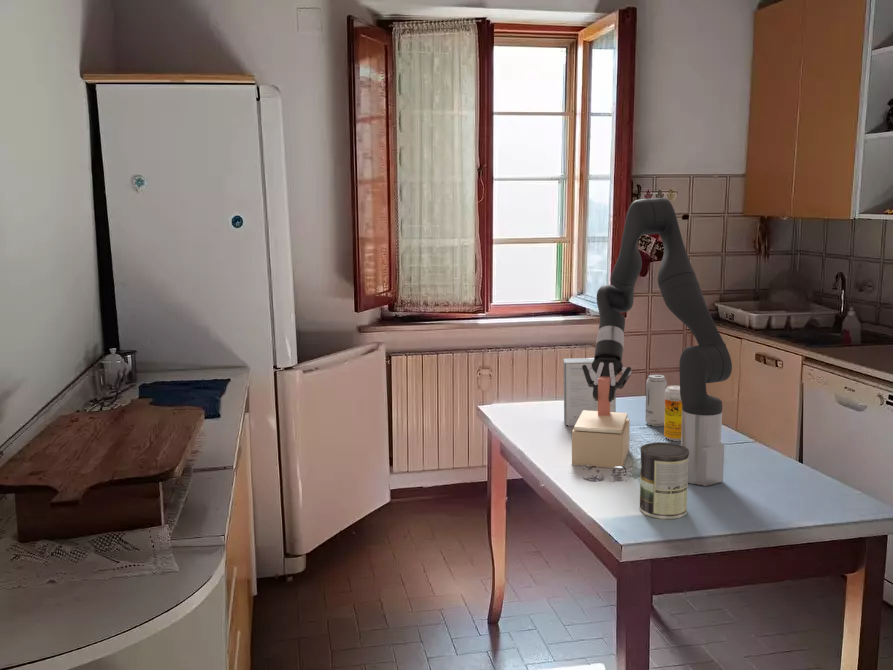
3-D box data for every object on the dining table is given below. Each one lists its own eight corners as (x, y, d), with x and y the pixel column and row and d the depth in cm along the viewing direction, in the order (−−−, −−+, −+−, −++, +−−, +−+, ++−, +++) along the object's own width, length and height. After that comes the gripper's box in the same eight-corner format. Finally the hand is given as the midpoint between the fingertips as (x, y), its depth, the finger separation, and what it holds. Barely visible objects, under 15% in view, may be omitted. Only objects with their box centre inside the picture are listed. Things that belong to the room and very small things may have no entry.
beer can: (664, 441, 228) (665, 389, 226) (663, 434, 234) (665, 384, 232) (686, 442, 227) (688, 390, 224) (685, 436, 233) (687, 385, 230)
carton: (581, 446, 224) (581, 415, 223) (629, 450, 220) (629, 418, 219) (571, 464, 209) (572, 431, 208) (622, 469, 205) (623, 435, 204)
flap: (583, 413, 222) (583, 375, 219) (627, 416, 218) (627, 377, 216) (573, 431, 207) (573, 390, 205) (621, 434, 204) (621, 392, 201)
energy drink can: (642, 421, 248) (643, 374, 246) (661, 421, 249) (663, 373, 246) (648, 427, 242) (649, 378, 240) (668, 426, 243) (669, 378, 240)
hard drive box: (613, 420, 251) (614, 357, 248) (615, 426, 243) (616, 362, 240) (563, 419, 253) (563, 357, 249) (564, 426, 245) (564, 362, 242)
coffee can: (630, 512, 177) (632, 450, 175) (651, 498, 185) (653, 439, 182) (675, 523, 170) (677, 459, 168) (694, 508, 178) (696, 447, 176)
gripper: (582, 337, 223) (575, 391, 214) (634, 339, 219) (629, 394, 210) (585, 352, 229) (578, 405, 220) (636, 354, 224) (630, 408, 215)
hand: (603, 399), depth 215 cm, fingers closed on flap, 3 cm apart
